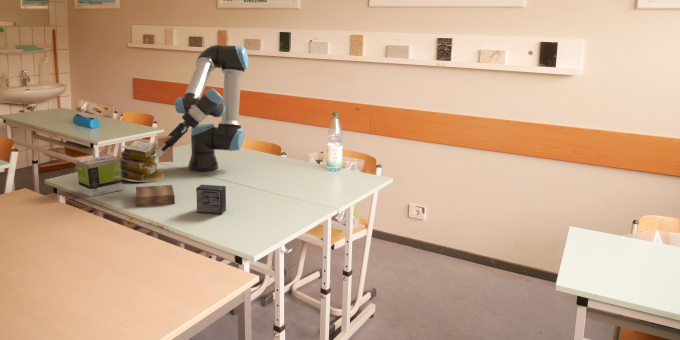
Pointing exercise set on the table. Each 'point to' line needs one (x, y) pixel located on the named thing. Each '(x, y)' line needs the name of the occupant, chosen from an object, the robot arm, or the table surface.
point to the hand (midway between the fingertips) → (156, 153)
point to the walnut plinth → (155, 195)
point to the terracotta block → (169, 153)
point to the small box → (211, 199)
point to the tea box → (99, 175)
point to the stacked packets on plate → (140, 162)
